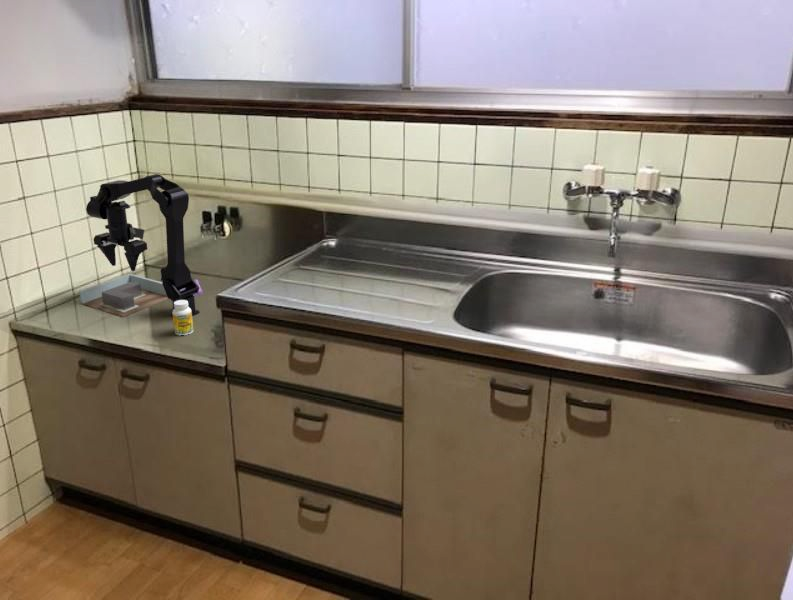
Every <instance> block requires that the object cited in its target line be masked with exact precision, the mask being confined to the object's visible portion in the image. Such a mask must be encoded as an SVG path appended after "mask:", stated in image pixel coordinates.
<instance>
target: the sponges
mask: <svg viewBox="0 0 793 600" xmlns="http://www.w3.org/2000/svg"><path fill="white" fill-rule="evenodd" d="M193 280H194V281H195V282H196V284H197V285H198V286H199V291H198V293H195V294H193V295H195V296H198V295H197V294H202V295H203V289H202V288H201V286H200V283H199V280H198V279H193ZM184 289H185V288H184ZM184 289H181V290H179V291H182V290H184ZM179 291H178V292H179Z"/></svg>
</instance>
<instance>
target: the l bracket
mask: <svg viewBox="0 0 793 600" xmlns="http://www.w3.org/2000/svg"><path fill="white" fill-rule="evenodd" d="M140 295H142V291H141V284H140V283H137V282H133V281H132V282H129V283H126V284H123V285H120V286H118V287H115V288H112V289H109V290H106V291H103V292H102V298H103V304H106V305H109V306H112V307H115V308H119V309H122V310H127V309H129V308H132V307H134V306H135V304H134V298H135V297H138V296H140Z"/></svg>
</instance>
